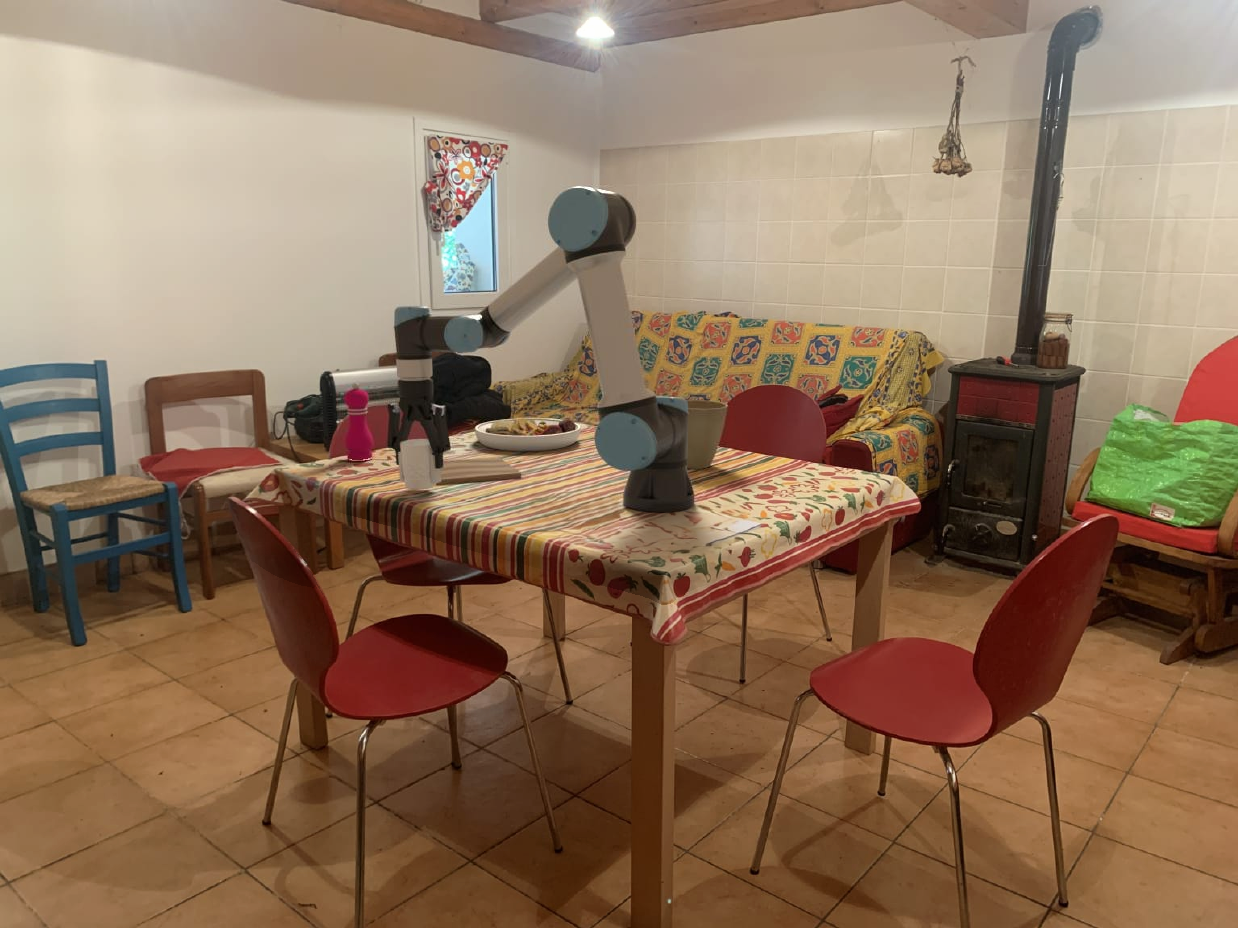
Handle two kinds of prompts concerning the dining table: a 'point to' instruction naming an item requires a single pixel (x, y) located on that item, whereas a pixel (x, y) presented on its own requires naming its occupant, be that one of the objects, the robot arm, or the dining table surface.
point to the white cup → (416, 463)
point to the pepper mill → (358, 425)
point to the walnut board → (476, 470)
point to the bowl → (528, 434)
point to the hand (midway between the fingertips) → (420, 481)
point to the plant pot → (704, 431)
